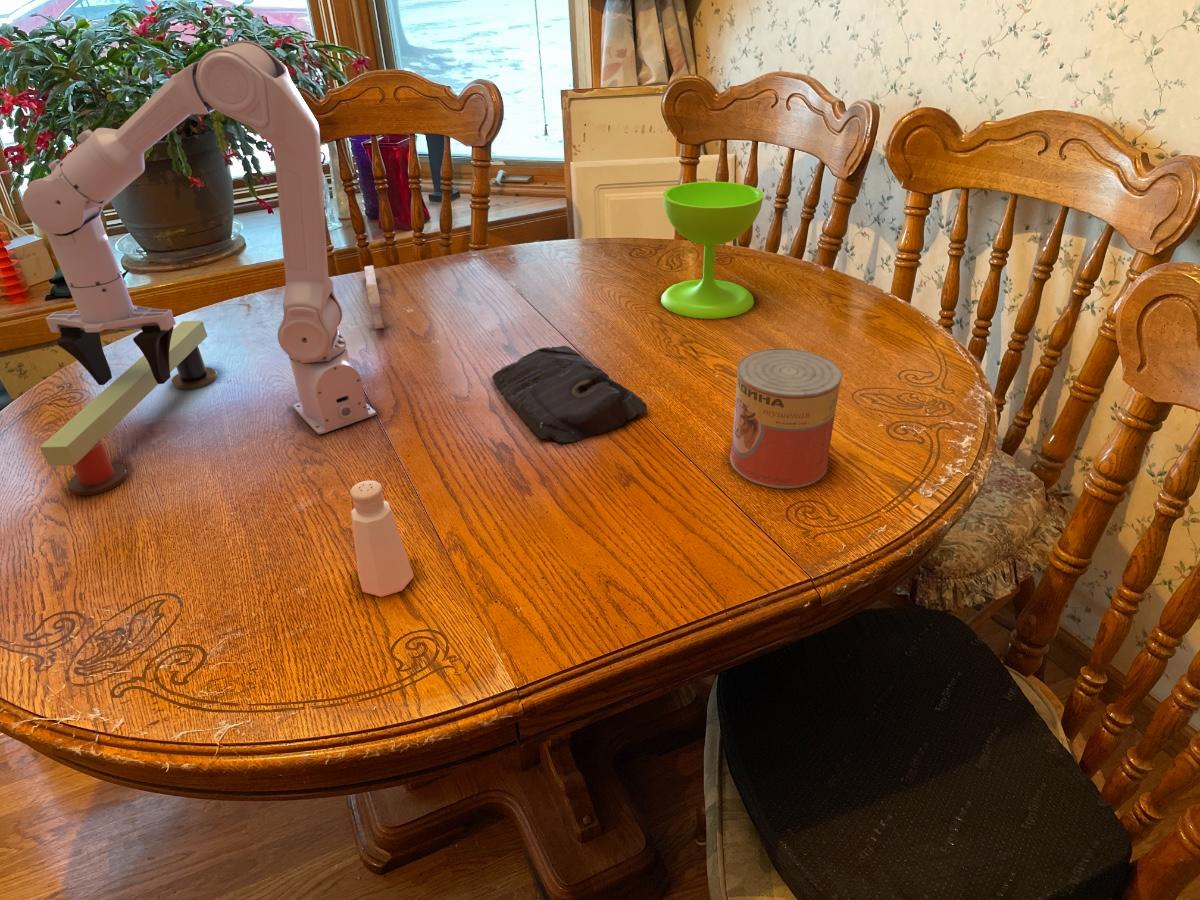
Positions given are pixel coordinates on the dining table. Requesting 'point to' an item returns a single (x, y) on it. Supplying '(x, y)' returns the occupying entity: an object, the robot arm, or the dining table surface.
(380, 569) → the pepper shaker
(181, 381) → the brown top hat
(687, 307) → the wineglass
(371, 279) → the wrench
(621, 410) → the black fabric pouch
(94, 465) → the red top hat
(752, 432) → the canned food
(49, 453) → the bar
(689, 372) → the dining table surface
